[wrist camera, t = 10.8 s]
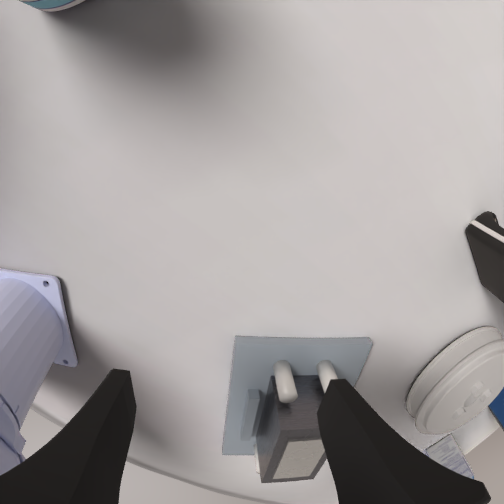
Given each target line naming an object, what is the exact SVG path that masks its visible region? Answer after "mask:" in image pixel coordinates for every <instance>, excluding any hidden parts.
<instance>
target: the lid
mask: <svg viewBox="0 0 504 504" xmlns="http://www.w3.org/2000/svg"><path fill="white" fill-rule="evenodd" d="M503 387H504V339H503V338H502V335H501V333H500V331H499V330H498V329H496V328H495V327H491V326H487V327H481V328H478V329H475V330H473V331H471V332H469V333H466V334H465V335H463V336H462V337H460V338H458V339H457V340H456V341H454V342H453V343H451V344H450V345H449V346H448V347H446V348H445V349H444V350H443V351H442V352H441V353H440V354H438V355H437V356H436V357H435V358H434V359H433V360H432V361H431V362H430V363H429V365H428V366H427V367H426V368H425V369H424V370H423V371H422V373H421V374H420V375H419V377H418V378H417V380H416V381H415V383H414V384H413V386H412V388H411V390H410V392H409V394H408V397H407V401H406V407H407V411H408V412H409V414H410V415H411V416H412V417H414V418H415V425H416V428H417V430H418V431H419V432H421V433H423V434H443V433H447V432H450V431H452V430H455V429H457V428H459V427H461V426H462V425H464V424H466V423H467V422H469V421H470V420H472V419H473V418H474V417H476V416H477V415H478V414H479V413H481V412H482V411H483V410H484V409H485V408H486V407H487V406H488V405H489V404H490V403H491V402H492V401H493V400H494V399H495V398H496V397H497V395H498V394H499V393H500V391H501V390H502V389H503Z"/></svg>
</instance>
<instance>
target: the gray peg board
mask: <svg viewBox="0 0 504 504" xmlns="http://www.w3.org/2000/svg"><path fill="white" fill-rule="evenodd" d="M371 347H372V342H371V340H370V338H369V337H362V338H277V337H249V336H235V343H234V351H233V359H232V368H231V376H230V385H229V394H228V402H227V411H226V419H225V428H224V437H223V446H222V455H255V464H256V472H257V473H258V474H260V468H259V460H258V452H257V443H256V434H257V430H258V426H259V422H260V418H261V414H262V410H263V406H264V402H265V398H266V394H267V389H268V385H269V381H270V377H271V376H275V380H276V385H277V390H278V395H279V400H280V401H281V402H283V403H290V402H293V401H295V400H296V399H297V397H298V394H297V391H296V387H295V383H294V379H293V375H318V376H319V378H320V381H321V384H322V387H323V390H324V393H325V392H326V390H327V387H328V385H329V382H330V380H331V379H346V380H347V381H348V382H349V383H350V384H351V385H352V386H353V387H354V385H355V383H356V381H357V379H358V377H359V374H360V372H361V370H362V368H363V365H364V363H365V361H366V359H367V356H368V354H369V351H370V349H371Z"/></svg>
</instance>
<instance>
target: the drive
mask: <svg viewBox="0 0 504 504" xmlns="http://www.w3.org/2000/svg"><path fill="white" fill-rule="evenodd" d="M293 379H294V383H295V387H296V391H297V394H298V397H297V399H296V400H295V401H293V402H290V403H283V402H281V401H280V400H279V395H278V390H277V385H276V380H275V376H271V377H270V381H269V385H268V389H267V394H266V398H265V402H264V406H263V410H262V414H261V418H260V422H259V426H258V430H257V434H256V443H257V452H258V460H259V468H260V476H261V483H272V482H287V481H299V480H308V479H314V477H315V476H316V474H317V473H318V471H319V470H320V468H321V467H322V465H323V463H324V462H325V460H326V459H327V456H326V453H325V449H324V446H323V443H322V440H321V436H320V431H319V425H318V418H317V411H318V409H319V406H320V404H321V402H322V399H323V397H324V394H325V393H324V390H323V387H322V384H321V381H320V378H319V376H318V375H293Z"/></svg>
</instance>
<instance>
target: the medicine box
mask: <svg viewBox="0 0 504 504" xmlns="http://www.w3.org/2000/svg"><path fill="white" fill-rule="evenodd" d="M426 452H427V454H428V456H429V457H430V458H431V459H433V460H434V461H436V462H437V463H439V464H441V465H443V466H445V467H446V468H448V469H450V470H452V471H455V472H457V473H459V474H461V475H463V476H466V477H469V478H471V479H474V473H473V471H472V469H471V467H470V465H469V464H468V462H467V460H466V458H465V456H464V455H463V453H462V451H461V449H460V448H459V446H458V444H457V443H456V441H455V439H454V438H453V436H452V435H451V434H449V435H448V436H446V437H445V438H443V439H442V440H440V441H438V442H437V443H435V444H434V445H432V446H431V447H429V448H427V450H426Z"/></svg>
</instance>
